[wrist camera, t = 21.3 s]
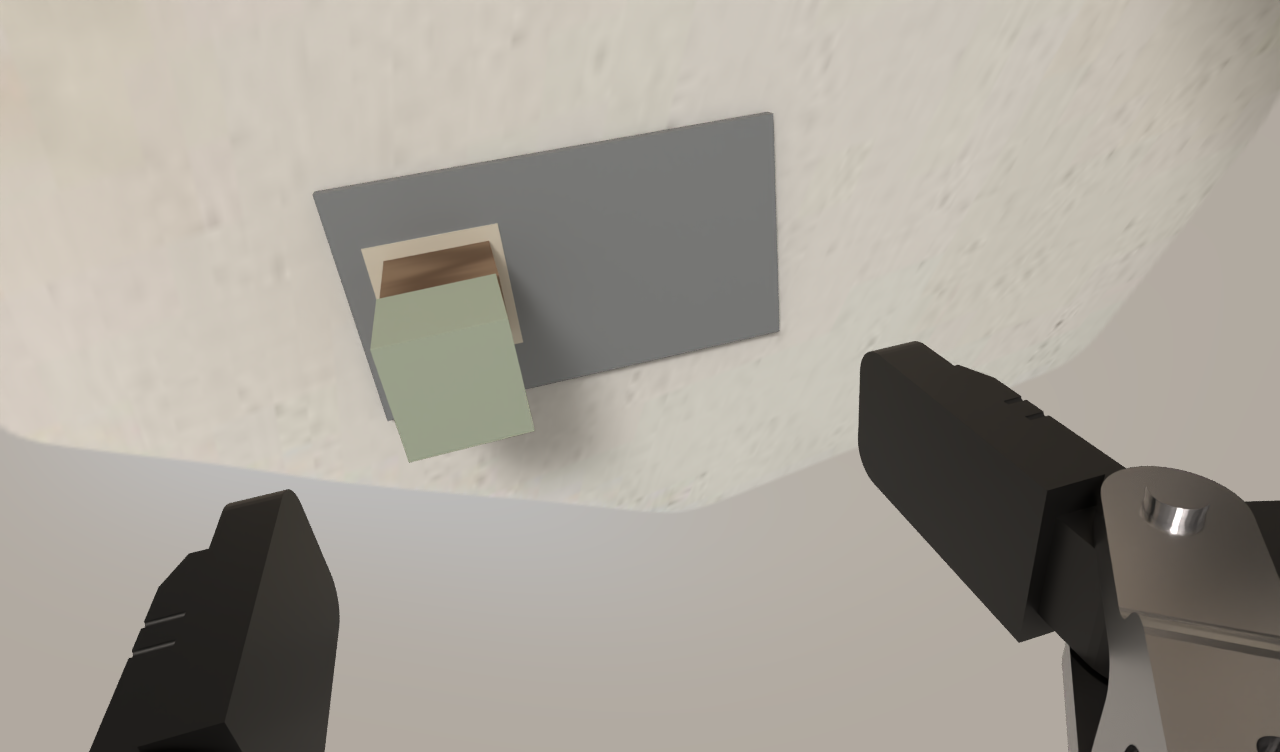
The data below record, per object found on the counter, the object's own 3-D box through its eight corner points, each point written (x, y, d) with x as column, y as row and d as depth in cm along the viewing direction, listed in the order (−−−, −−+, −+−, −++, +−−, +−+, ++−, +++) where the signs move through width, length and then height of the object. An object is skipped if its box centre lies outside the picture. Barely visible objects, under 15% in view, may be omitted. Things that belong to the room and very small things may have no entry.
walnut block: (488, 240, 37) (498, 275, 32) (509, 333, 39) (521, 376, 35) (383, 261, 36) (379, 299, 31) (411, 354, 38) (411, 401, 34)
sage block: (495, 273, 32) (507, 318, 28) (520, 375, 35) (534, 430, 30) (376, 299, 31) (369, 349, 27) (409, 401, 34) (409, 462, 30)
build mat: (768, 112, 38) (774, 114, 37) (775, 326, 44) (780, 331, 43) (314, 191, 34) (312, 195, 34) (387, 415, 40) (387, 421, 39)
